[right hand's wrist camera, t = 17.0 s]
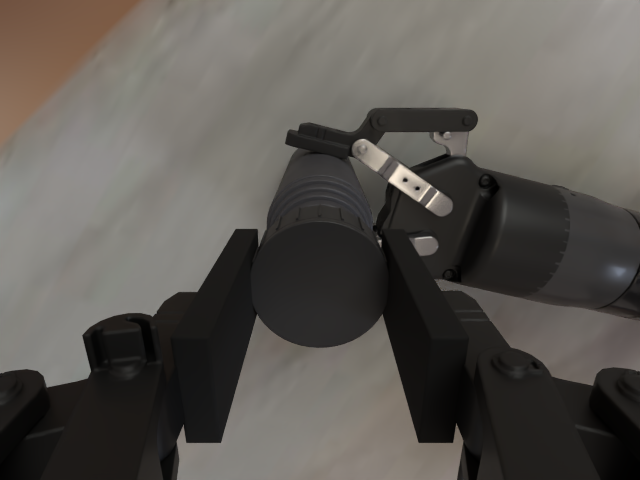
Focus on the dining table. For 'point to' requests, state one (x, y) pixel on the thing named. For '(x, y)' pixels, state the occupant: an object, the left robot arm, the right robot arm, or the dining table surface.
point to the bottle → (319, 187)
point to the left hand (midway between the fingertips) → (279, 181)
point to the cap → (319, 277)
